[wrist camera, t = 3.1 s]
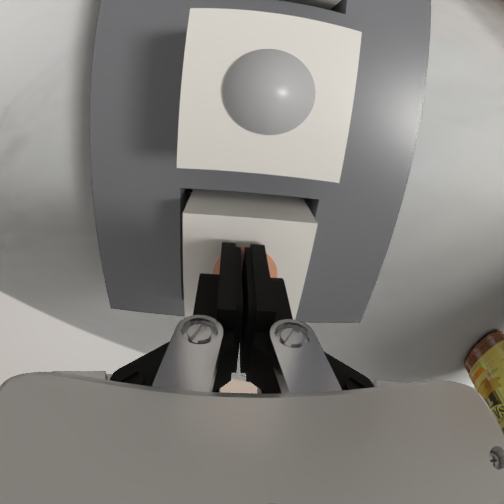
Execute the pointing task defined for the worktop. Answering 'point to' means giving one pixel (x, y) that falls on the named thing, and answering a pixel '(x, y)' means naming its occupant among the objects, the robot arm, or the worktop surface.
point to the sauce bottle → (489, 372)
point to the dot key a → (247, 236)
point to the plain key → (266, 94)
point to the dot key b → (317, 3)
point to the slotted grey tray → (181, 179)
